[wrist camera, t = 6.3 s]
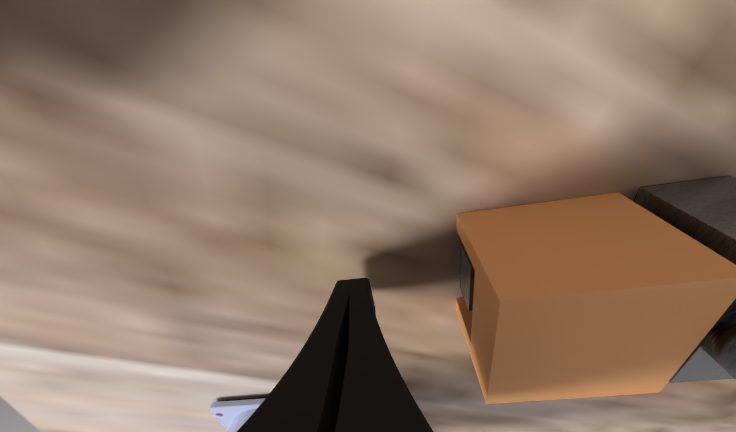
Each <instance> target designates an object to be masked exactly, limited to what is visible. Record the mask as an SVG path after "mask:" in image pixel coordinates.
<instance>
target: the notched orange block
mask: <svg viewBox="0 0 736 432" xmlns="http://www.w3.org/2000/svg"><path fill="white" fill-rule="evenodd" d="M457 232H458V234H459V236H460V239H461V241H462V243H463V245H464V247H465V250H466V252H467V254H468V256H469V258H470V261H471V263H472V265H473V267H474V270H475V277H474V294H473V311H468V308H467V305H466V302H465V300H464V297H463V298H456V311H457V314H458V317H459V320H460V323H461V326H462V330H463V333H464V336H465V339H466V342H467V345H468V348H469V352H470V355H471V358H472V361H473V364H474V367H475V371H476V374H477V377H478V380H479V383H480V386H481V389H482V393H483V396H484V399H485V402H486V404H499V403H513V402H528V401H543V400H558V399H573V398H587V397H602V396H617V395H632V394H646V393H660V391H661V390H662V389H663V388H664V386H665V385H666V384H667V383H668V381H669V380H670V379H671V378H672V376H673V375H674V374H675V373H676V372H677V370H678V369H679V368H680V367H681V365H682V364H683V363H684V362H685V360H686V359H687V358H688V357H689V355H690V354H691V353H692V352H693V351H694V349H695V348H696V347H697V346H698V344H699V343H700V342H701V341H702V339H703V338H704V337H705V336H706V334H707V333H708V332H709V331H710V330H711V328H712V327H713V326H714V325H715V323H716V322H717V321H718V320H719V318H720V317H721V316H722V315H723V313H724V312H725V311H726V310H727V309H728V307H729V306H730V305H731V304H732V302H733V301H734V300H735V299H736V265H735V264H734V263H732V262H730V261H729V260H727V259H726V258H724V257H722V256H721V255H719V254H718V253H716V252H714V251H713V250H711V249H709V248H708V247H706V246H705V245H703V244H701V243H700V242H698V241H696V240H695V239H693V238H692V237H690V236H688V235H687V234H685V233H684V232H682V231H680V230H679V229H677V228H675V227H674V226H672V225H671V224H669V223H667V222H666V221H664V220H662V219H661V218H659V217H658V216H656V215H654V214H653V213H651V212H650V211H648V210H646V209H645V208H643V207H641V206H640V205H638V204H637V203H635V202H633V201H632V200H630V199H628V198H627V197H625V196H624V195H622V194H620V193H619V192H616V193H609V194H601V195H594V196H586V197H579V198H571V199H564V200H556V201H549V202H541V203H534V204H526V205H519V206H511V207H503V208H496V209H488V210H481V211H473V212H466V213H458V214H457Z"/></svg>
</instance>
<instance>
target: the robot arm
mask: <svg viewBox="0 0 736 432" xmlns="http://www.w3.org/2000/svg"><path fill="white" fill-rule="evenodd" d="M209 411H210V412H211V413H212V414H213V415H214V416H215V417H216V418H217V419H218V420H219V421H220V422H221V423H222V424H223V425H224V426H225V427H226V428H227V429H228V430H229V431H228V432H433V430H432V429H431V427H430V426H429V424H428V422H427V421H426V419H425V417H424V416H423V414H422V412H421V411H420V409H419V407H418V406H417V404H416V402H415V400H414V399H413V397H412V395H411V393H410V391H409V389H408V388H407V386H406V384H405V382H404V380H403V378H402V377H401V375H400V373H399V371H398V369H397V367H396V365H395V362H394V360H393V358H392V356H391V354H390V352H389V349H388V347H387V345H386V342H385V340H384V338H383V335H382V332H381V330H380V327H379V324H378V322H377V319H376V314H375V305H374V301H373V296H372V291H371V286H370V282H369V279H367V278H359V279H349V280H340V281H338V282H337V283H336V285H335V287H334V290H333V292H332V294H331V296H330V299H329V301H328V303H327V305H326V307H325V309H324V311H323V313H322V315H321V317H320V319H319V321H318V323H317V324H316V326H315V328H314V330H313V331H312V333H311V335H310V337H309V338H308V340H307V342H306V343H305V345H304V347H303V348H302V350H301V351H300V353H299V354H298V356H297V357H296V359H295V360H294V362H293V363H292V365H291V366H290V368H289V369H288V370H287V372H286V373H285V374H284V376H283V377H282V378H281V380H280V381H279V382H278V384H277V385H276V386H275V388H274V389H273V390H272V391H271V393H270V394H269V395H268V396H267V398H263V399H249V400H235V401H222V402H214V403H212V404H211V406H210V408H209Z"/></svg>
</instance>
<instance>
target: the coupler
mask: <svg viewBox="0 0 736 432" xmlns="http://www.w3.org/2000/svg"><path fill="white" fill-rule="evenodd" d="M634 202H635V203H637V204H638V205H640V206H641V207H643V208H645V209H646V210H648V211H650V212H651V213H653V214H654V215H656V216H658V217H659V218H661V219H662V220H664V221H666V222H667V223H669V224H671V225H672V226H674V227H675V228H677V229H679V230H680V231H682V232H684V233H685V234H687V235H688V236H690V237H692V238H693V239H695V240H696V241H698V242H700V243H701V244H703V245H705V246H706V247H708V248H709V249H711V250H713V251H714V252H716V253H718V254H719V255H721V256H722V257H724V258H726V259H727V260H729V261H730V262H732V263H734V264H735V265H736V178H734V177H731V176H724V177H716V178H709V179H701V180H693V181H685V182H678V183H670V184H662V185H655V186H647V187H640V189H639V191H638V194H637V196H636V198H635V201H634ZM474 277H475V270H474V267H473V265H472V263H471V261H470V258H469V256H468V254H467V252H466V250H465V247H464V245H463V244H461V258H460V289H461V291H462V294H463V297H464V300H465V302H466V305H467V308H468V311H473V294H474ZM733 378H734V379H736V299H735V300H734V301H733V302H732V304H731V305H730V306H729V307H728V309H727V310H726V311H725V312H724V313H723V315H722V316H721V317H720V318H719V320H718V321H717V322H716V323H715V325H714V326H713V327H712V328H711V330H710V331H709V332H708V333H707V334H706V336H705V337H704V338H703V339H702V341H701V342H700V343H699V344H698V346H697V347H696V348H695V349H694V351H693V352H692V353H691V354H690V355H689V357H688V358H687V359H686V360H685V362H684V363H683V364H682V365H681V367H680V368H679V369H678V370H677V372H676V373H675V374H674V375H673V376H672V378H671V379H670V380H669V382H670V383H675V382H689V381H704V380H718V379H733Z"/></svg>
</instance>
